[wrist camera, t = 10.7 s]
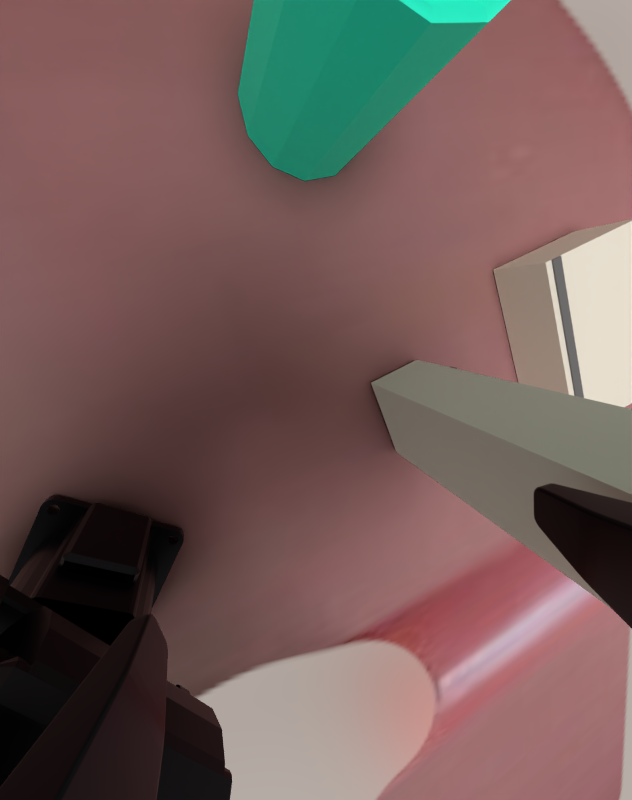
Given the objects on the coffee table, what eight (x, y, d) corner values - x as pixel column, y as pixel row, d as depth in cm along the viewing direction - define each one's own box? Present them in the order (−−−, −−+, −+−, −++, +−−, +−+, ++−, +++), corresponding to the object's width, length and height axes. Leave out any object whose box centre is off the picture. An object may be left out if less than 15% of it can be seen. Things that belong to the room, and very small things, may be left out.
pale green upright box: (396, 452, 22) (682, 660, 9) (371, 382, 20) (669, 510, 7) (439, 428, 22) (769, 592, 9) (417, 359, 21) (773, 440, 8)
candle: (371, 42, 17) (697, -469, 6) (363, 188, 18) (617, -1, 7) (236, 9, 15) (332, -807, 4) (239, 172, 17) (317, -109, 5)
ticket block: (526, 419, 25) (577, 436, 21) (493, 269, 21) (547, 262, 18) (595, 379, 26) (655, 390, 22) (573, 231, 22) (639, 217, 19)
